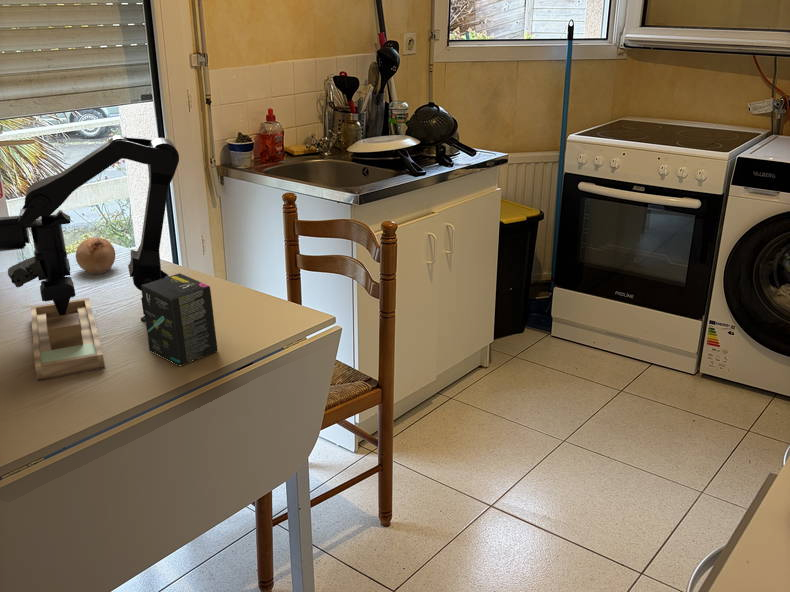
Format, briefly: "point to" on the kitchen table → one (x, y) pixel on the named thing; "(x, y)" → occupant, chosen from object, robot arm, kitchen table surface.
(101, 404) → the kitchen table surface
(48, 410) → the kitchen table surface
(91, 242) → the onion
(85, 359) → the oak tray
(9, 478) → the kitchen table surface
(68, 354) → the sage pad
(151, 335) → the tampon box
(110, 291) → the kitchen table surface
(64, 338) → the walnut block
